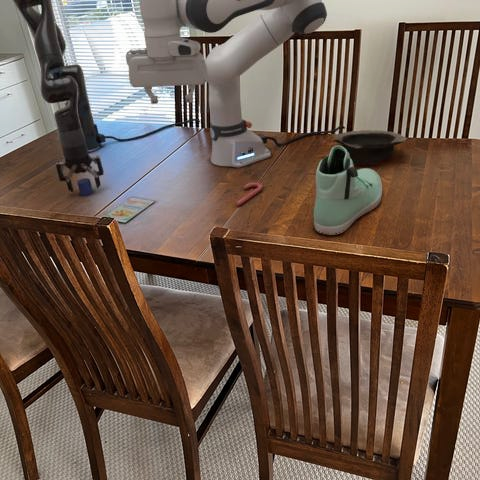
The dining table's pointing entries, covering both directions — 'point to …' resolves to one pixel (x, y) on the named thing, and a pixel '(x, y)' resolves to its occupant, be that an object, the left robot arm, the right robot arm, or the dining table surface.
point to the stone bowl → (369, 145)
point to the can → (85, 186)
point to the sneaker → (343, 192)
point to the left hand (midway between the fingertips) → (85, 189)
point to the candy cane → (250, 192)
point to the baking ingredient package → (129, 209)
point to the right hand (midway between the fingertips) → (172, 102)
